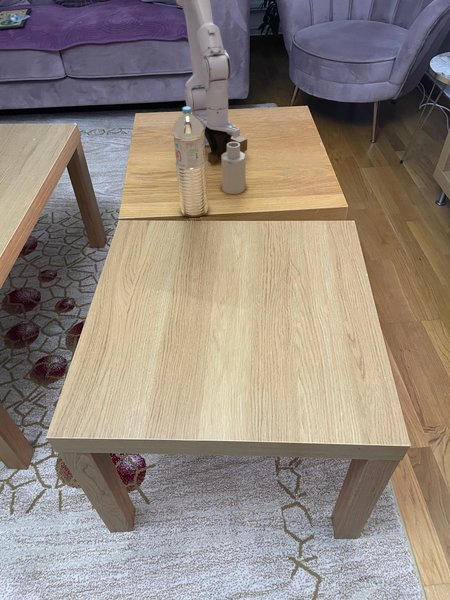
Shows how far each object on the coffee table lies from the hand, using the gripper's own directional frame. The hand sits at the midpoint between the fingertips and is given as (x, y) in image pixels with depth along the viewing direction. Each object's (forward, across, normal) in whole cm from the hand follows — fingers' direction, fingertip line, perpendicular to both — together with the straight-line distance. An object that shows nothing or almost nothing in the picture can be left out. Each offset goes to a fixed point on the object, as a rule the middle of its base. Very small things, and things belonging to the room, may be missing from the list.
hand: (218, 154), depth 127 cm
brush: (+1, 0, -3) cm, 3 cm away
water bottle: (+2, -13, +22) cm, 26 cm away
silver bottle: (+2, -13, +8) cm, 16 cm away
